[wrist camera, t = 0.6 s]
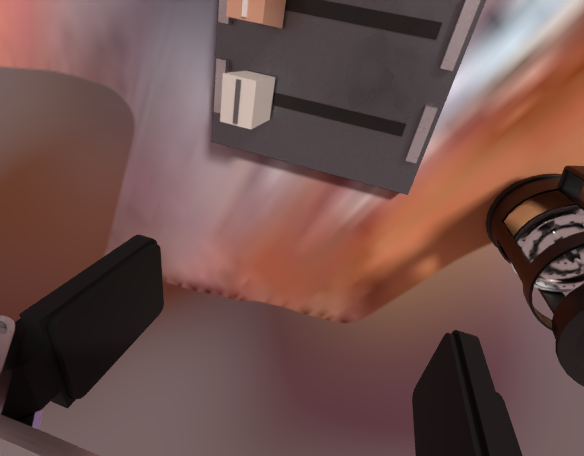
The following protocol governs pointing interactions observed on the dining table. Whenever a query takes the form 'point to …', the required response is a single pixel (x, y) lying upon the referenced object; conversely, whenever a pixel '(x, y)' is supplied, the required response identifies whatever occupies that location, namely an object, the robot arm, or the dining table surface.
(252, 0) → the fader terracotta
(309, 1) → the console
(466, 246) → the dining table surface
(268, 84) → the fader ivory
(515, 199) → the french press
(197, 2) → the dining table surface
